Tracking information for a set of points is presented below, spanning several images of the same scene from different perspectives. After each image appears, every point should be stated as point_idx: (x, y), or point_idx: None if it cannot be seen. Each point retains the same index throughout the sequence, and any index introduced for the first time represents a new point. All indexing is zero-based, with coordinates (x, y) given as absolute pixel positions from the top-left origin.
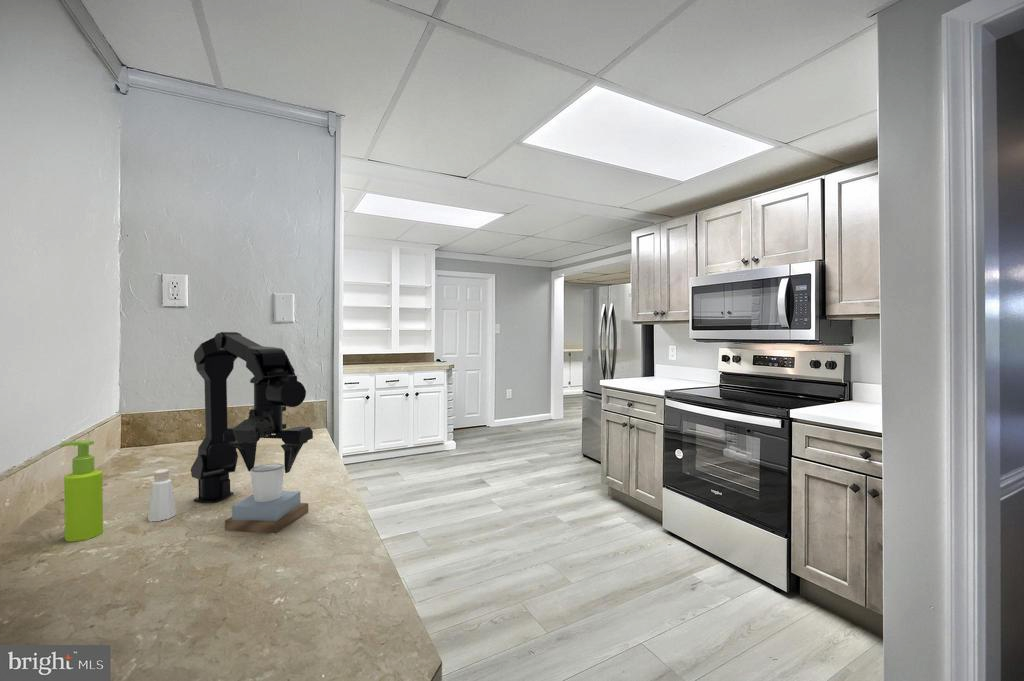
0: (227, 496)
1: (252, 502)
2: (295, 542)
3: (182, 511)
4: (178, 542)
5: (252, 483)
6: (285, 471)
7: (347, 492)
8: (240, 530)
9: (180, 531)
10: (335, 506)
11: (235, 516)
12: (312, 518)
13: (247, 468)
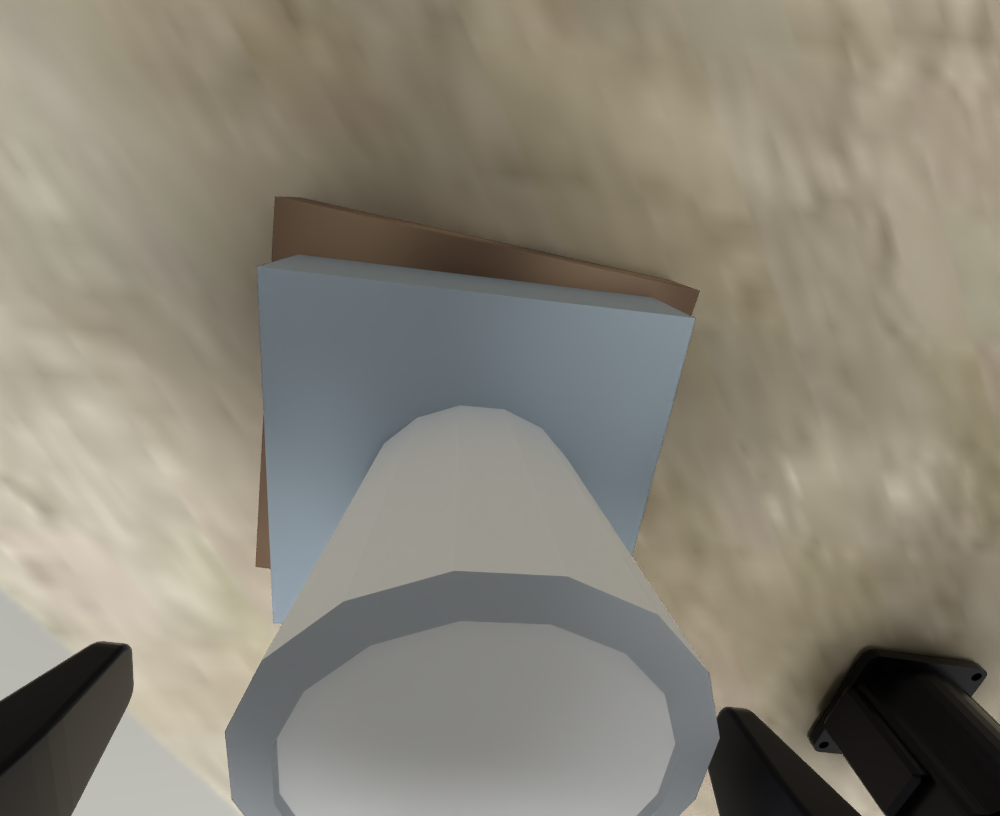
0: (828, 711)
1: (550, 397)
2: (42, 7)
3: (997, 554)
4: (897, 98)
5: (608, 526)
6: (96, 657)
7: (207, 770)
8: (565, 257)
9: (934, 283)
10: (154, 603)
11: (634, 297)
12: (190, 438)
13: (782, 743)
